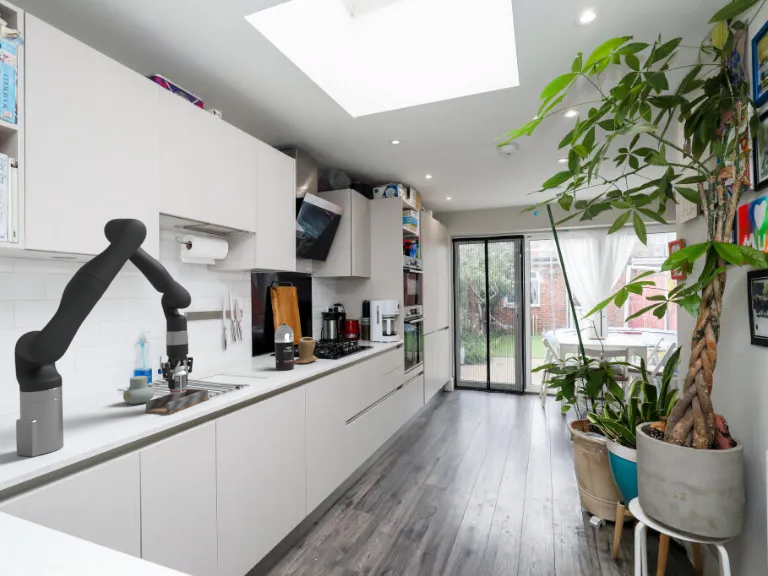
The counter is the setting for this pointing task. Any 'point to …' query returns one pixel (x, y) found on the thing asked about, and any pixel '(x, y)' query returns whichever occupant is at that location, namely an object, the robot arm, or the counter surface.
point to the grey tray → (176, 401)
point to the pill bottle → (179, 381)
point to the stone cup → (306, 350)
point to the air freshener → (138, 391)
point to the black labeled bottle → (284, 348)
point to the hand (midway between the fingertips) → (178, 386)
